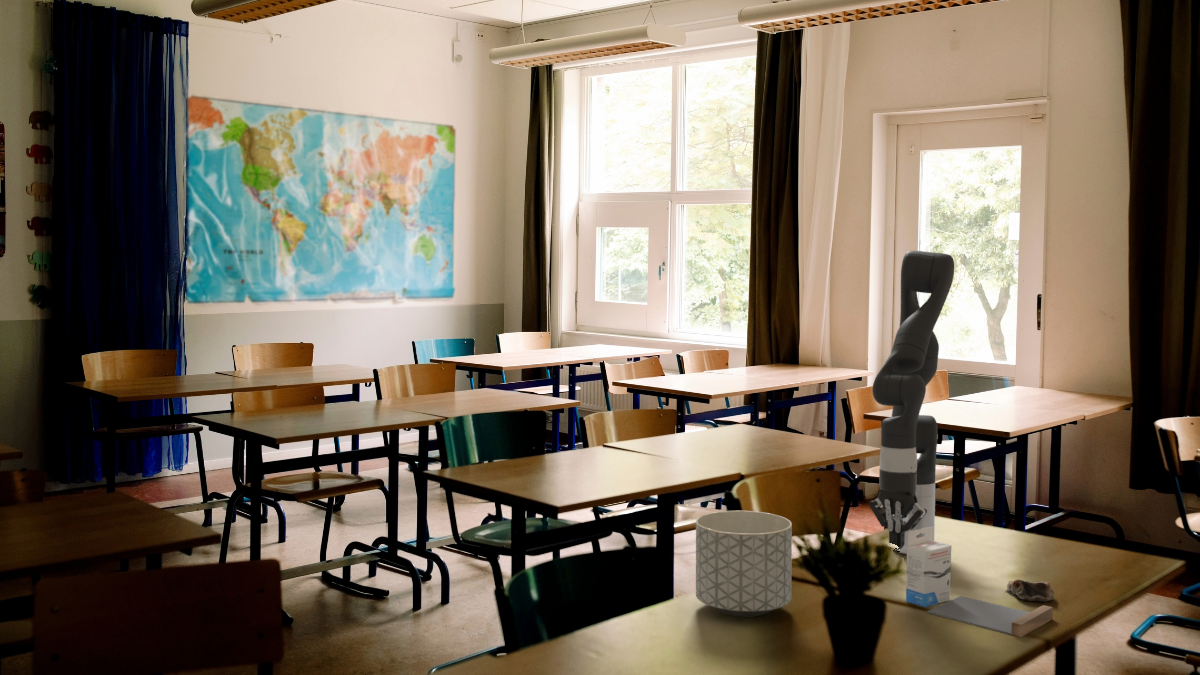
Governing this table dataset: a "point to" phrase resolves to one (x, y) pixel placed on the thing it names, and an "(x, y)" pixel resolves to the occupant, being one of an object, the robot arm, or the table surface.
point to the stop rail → (1031, 621)
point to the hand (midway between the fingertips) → (896, 548)
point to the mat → (979, 613)
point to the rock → (1031, 590)
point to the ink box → (927, 569)
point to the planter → (743, 562)
